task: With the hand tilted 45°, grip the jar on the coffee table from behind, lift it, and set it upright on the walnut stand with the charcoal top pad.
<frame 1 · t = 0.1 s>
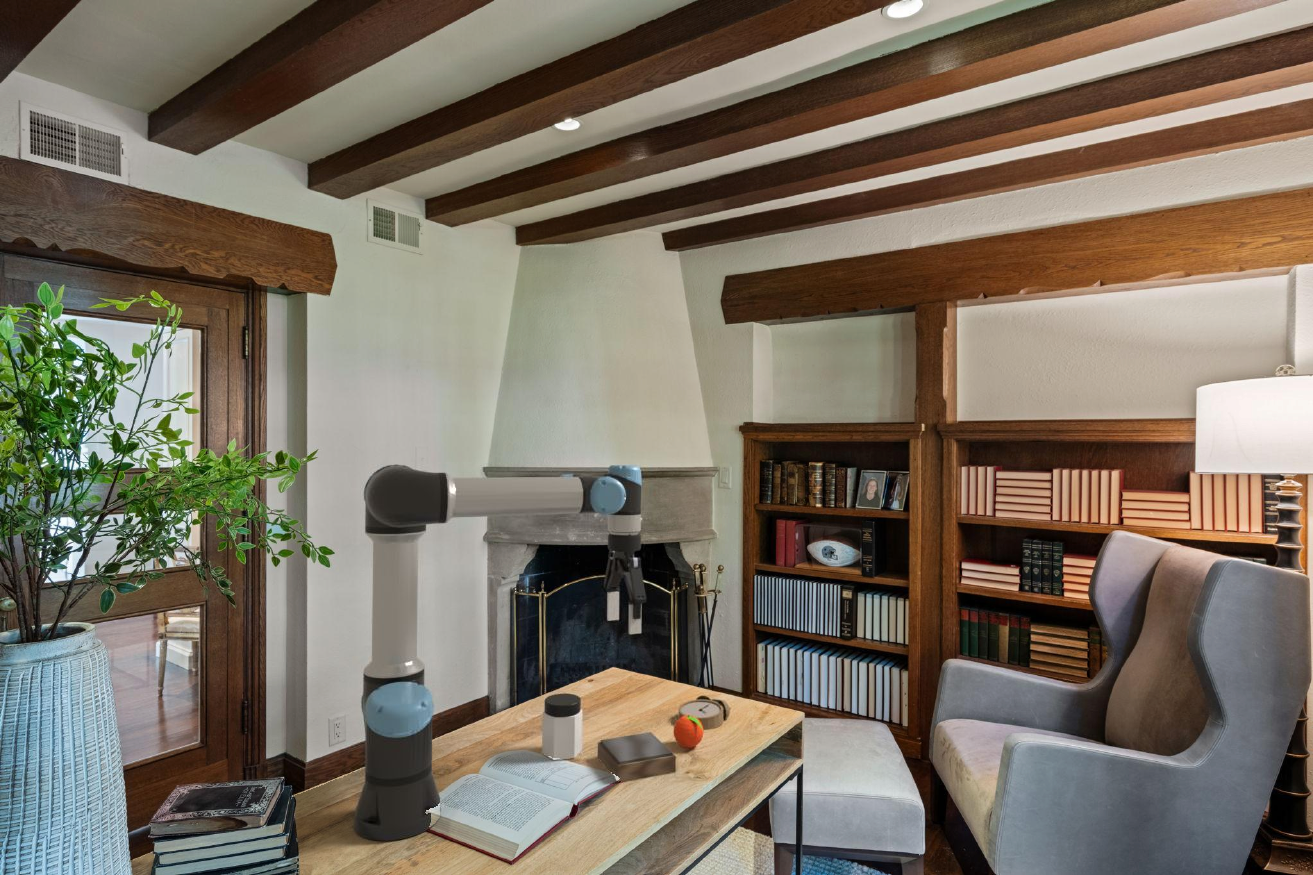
hand: (623, 626, 168), 28 cm above the table, tool pointing down, fingers open, 13 cm apart
stand: (635, 764, 160), on the table
clementine: (690, 748, 169), on the table
alarm clock: (704, 721, 187), on the table
jar: (562, 753, 166), on the table
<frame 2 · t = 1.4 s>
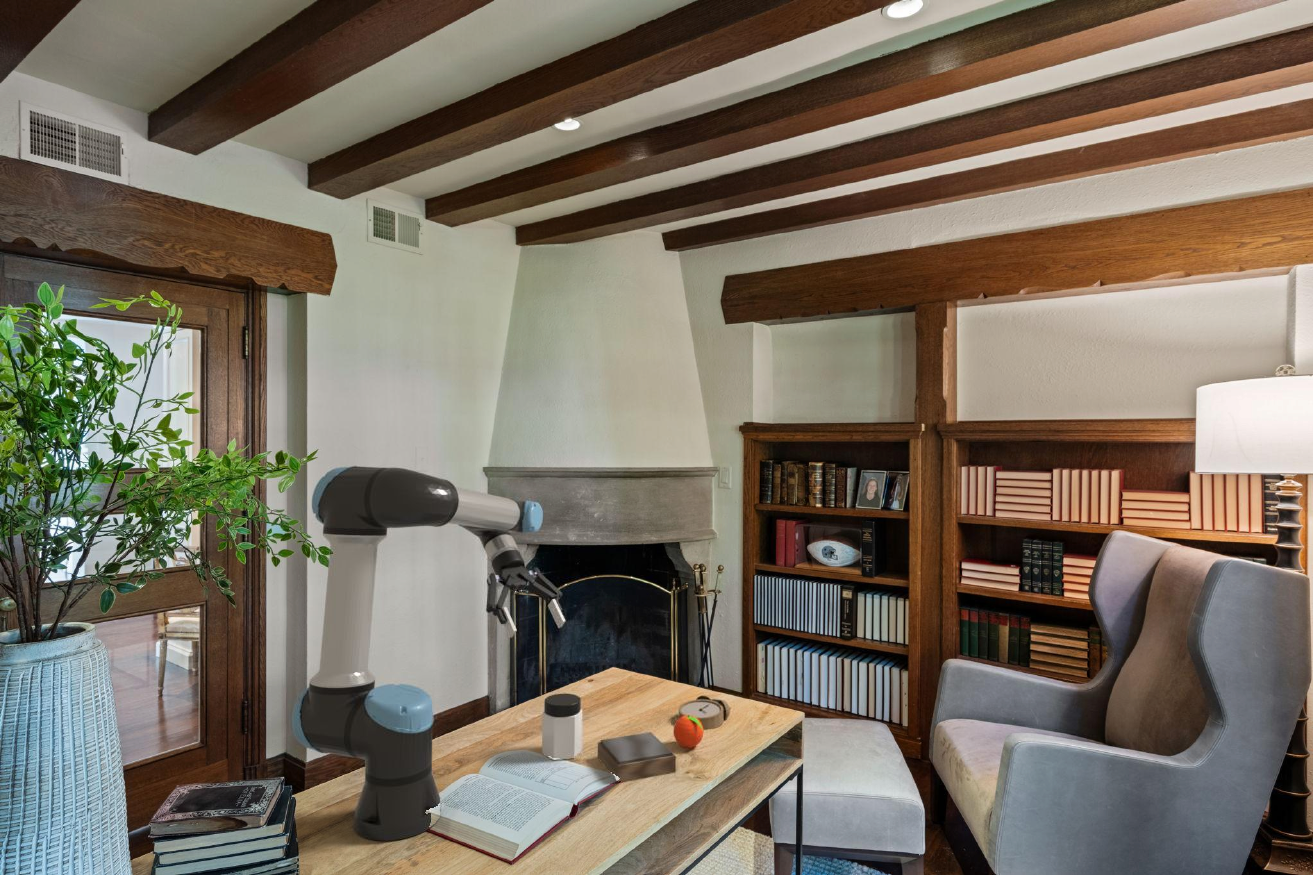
hand: (538, 629, 173), 26 cm above the table, tool tilted 45°, fingers open, 13 cm apart
nothing on the table moved.
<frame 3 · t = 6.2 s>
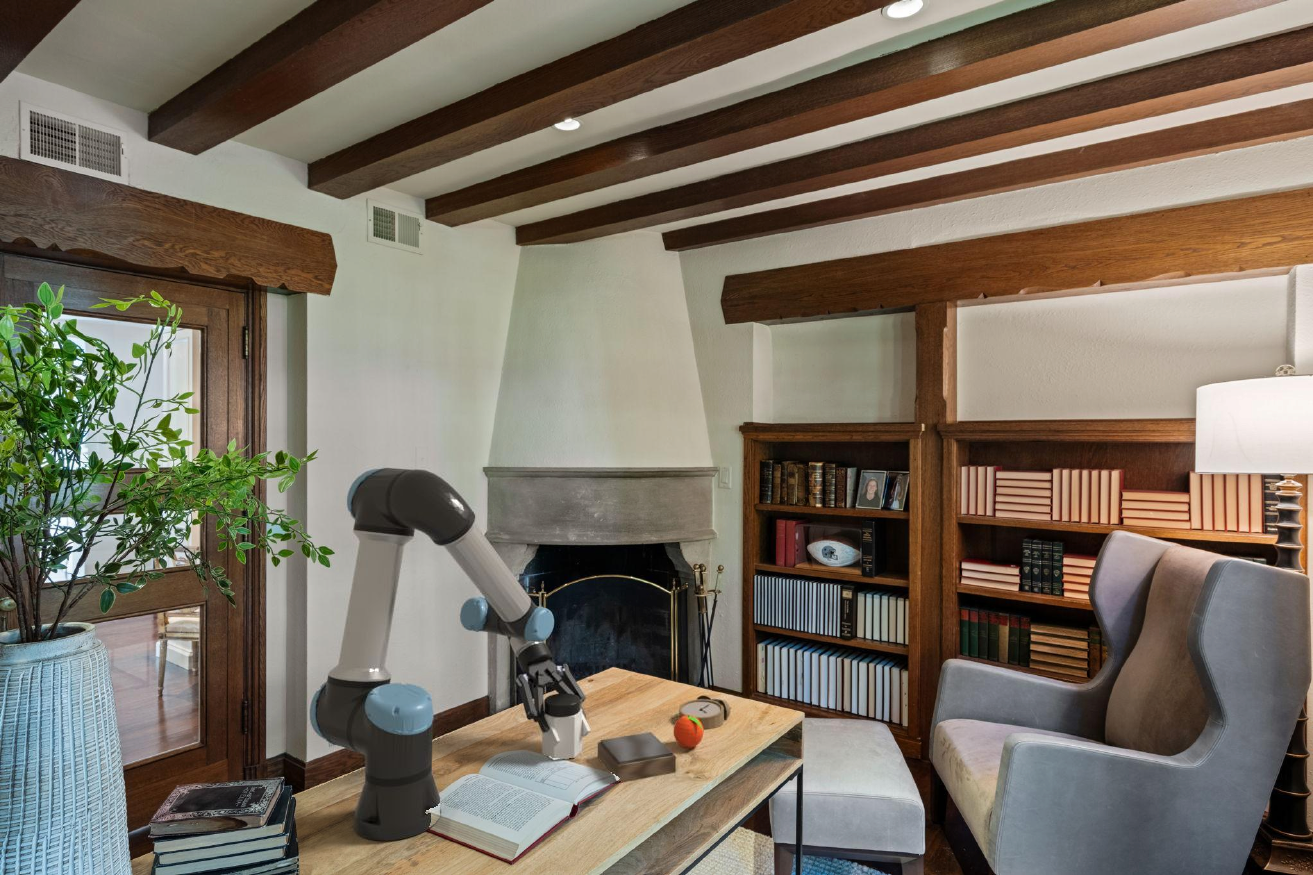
hand: (571, 738, 163), 4 cm above the table, tool tilted 45°, fingers closed on jar, 8 cm apart
jar: (562, 753, 166), on the table, touching gripper
everything else where it was.
when the fingers open (9 cm above the table, at t = 12.3 s): jar drops 1 cm, resting on stand.
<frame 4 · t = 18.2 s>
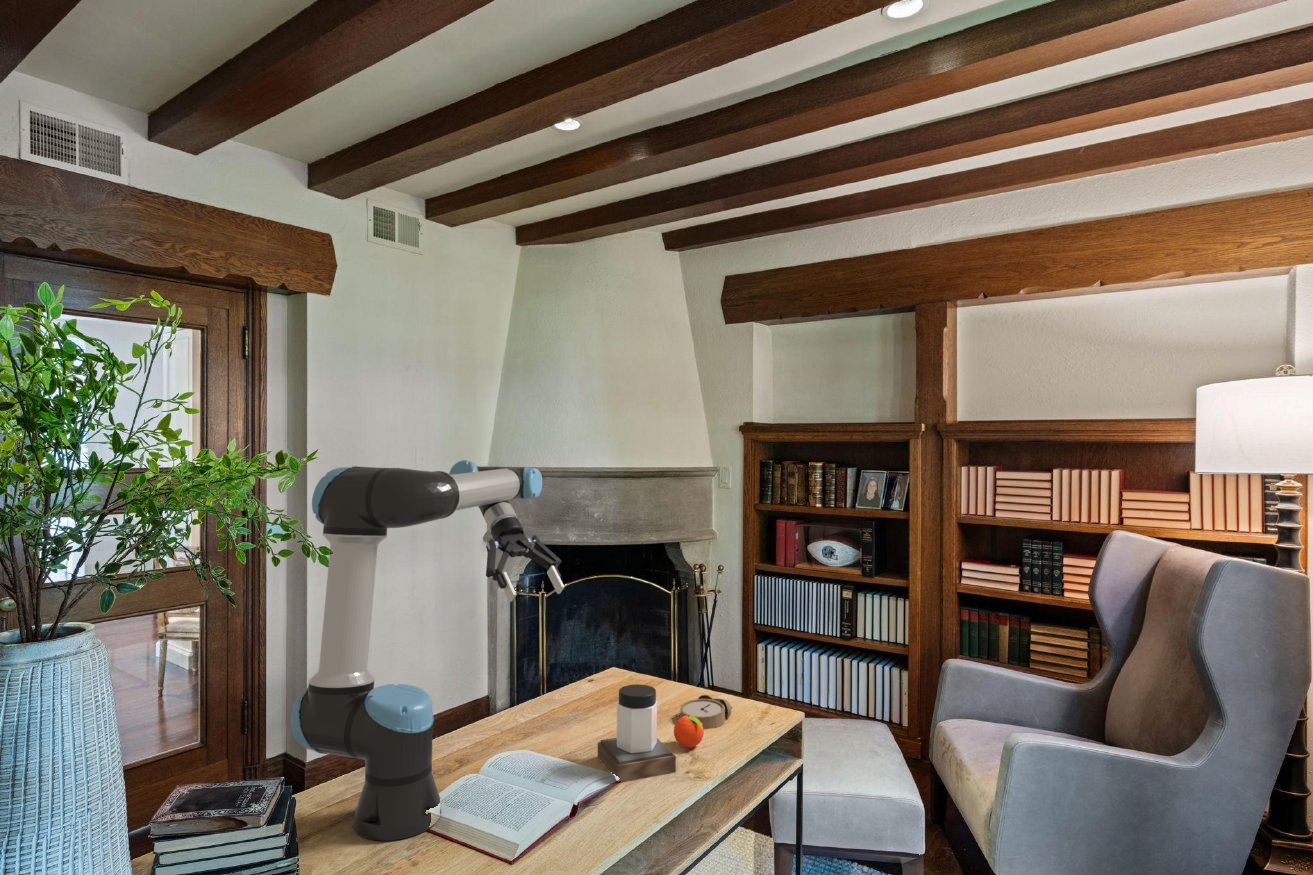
hand: (537, 594, 175), 34 cm above the table, tool tilted 45°, fingers open, 13 cm apart
jar: (636, 746, 160), point 4 cm above the table, touching stand
everything else where it was.
at the end: jar inside the target area on the stand (0.4 cm from its centre), point 3.8 cm above the stand's base; jar tilted 0°; the gripper is holding nothing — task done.
